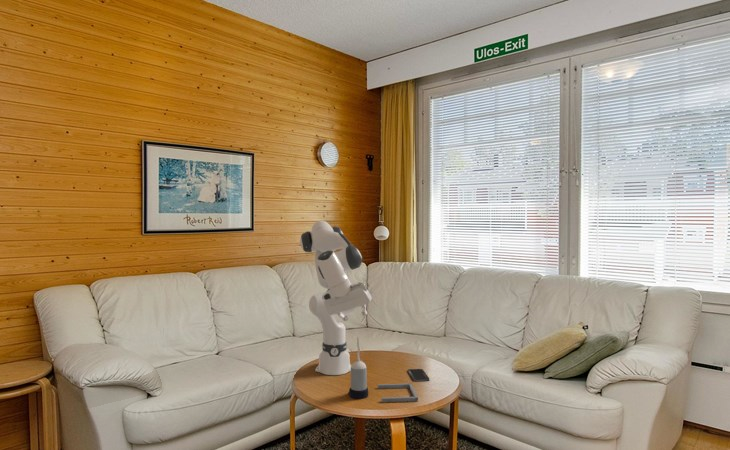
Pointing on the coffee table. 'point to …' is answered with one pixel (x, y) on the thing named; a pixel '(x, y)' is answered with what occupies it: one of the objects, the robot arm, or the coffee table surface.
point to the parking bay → (398, 399)
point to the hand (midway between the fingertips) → (355, 317)
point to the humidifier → (358, 378)
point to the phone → (418, 375)
